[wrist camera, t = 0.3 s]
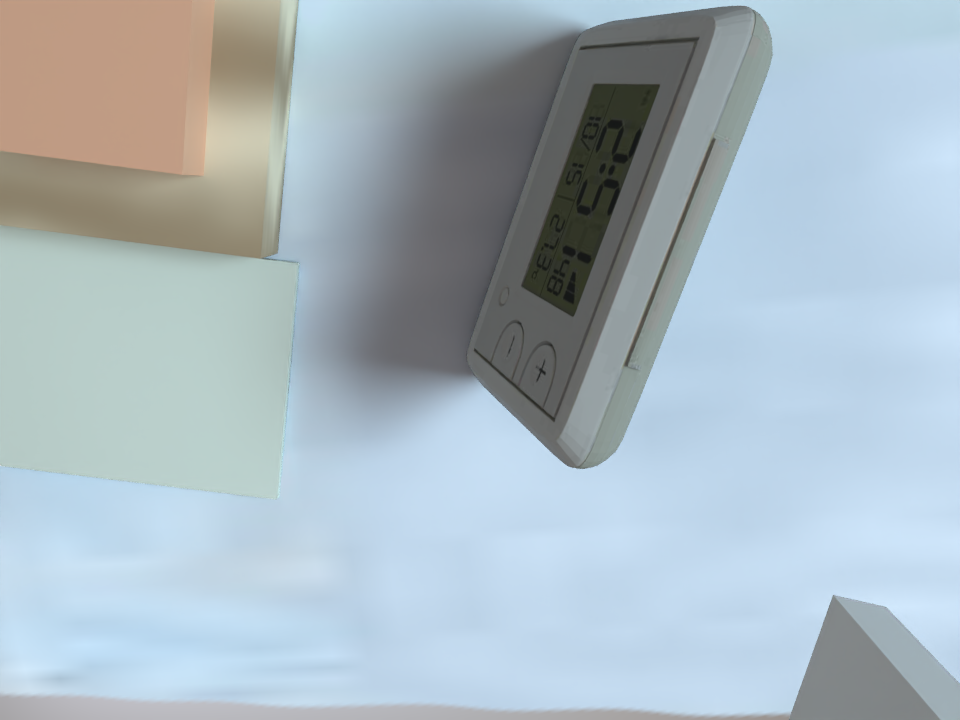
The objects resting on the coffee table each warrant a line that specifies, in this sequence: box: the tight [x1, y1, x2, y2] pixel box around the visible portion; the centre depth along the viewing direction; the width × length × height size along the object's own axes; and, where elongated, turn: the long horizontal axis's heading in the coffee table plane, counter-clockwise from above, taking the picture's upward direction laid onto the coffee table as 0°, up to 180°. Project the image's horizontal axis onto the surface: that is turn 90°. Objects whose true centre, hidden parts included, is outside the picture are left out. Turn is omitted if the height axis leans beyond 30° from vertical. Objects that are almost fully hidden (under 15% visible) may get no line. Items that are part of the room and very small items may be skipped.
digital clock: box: [467, 6, 772, 469], centre depth 32 cm, size 16×9×11 cm, turn 149°
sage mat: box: [0, 225, 300, 499], centre depth 38 cm, size 11×14×1 cm
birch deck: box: [0, 0, 298, 259], centre depth 34 cm, size 16×12×3 cm
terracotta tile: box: [0, 0, 215, 176], centre depth 32 cm, size 8×7×2 cm
